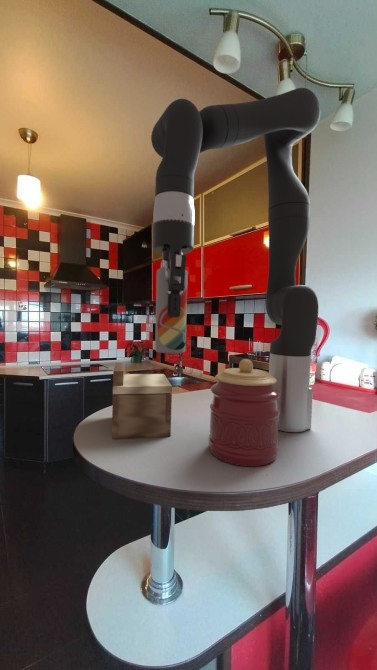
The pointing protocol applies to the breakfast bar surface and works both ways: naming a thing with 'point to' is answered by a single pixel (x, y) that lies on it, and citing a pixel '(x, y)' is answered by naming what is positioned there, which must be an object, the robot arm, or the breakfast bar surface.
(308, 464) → the breakfast bar surface
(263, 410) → the canister
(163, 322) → the lotion bottle
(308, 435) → the breakfast bar surface
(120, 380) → the lid
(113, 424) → the wooden box
